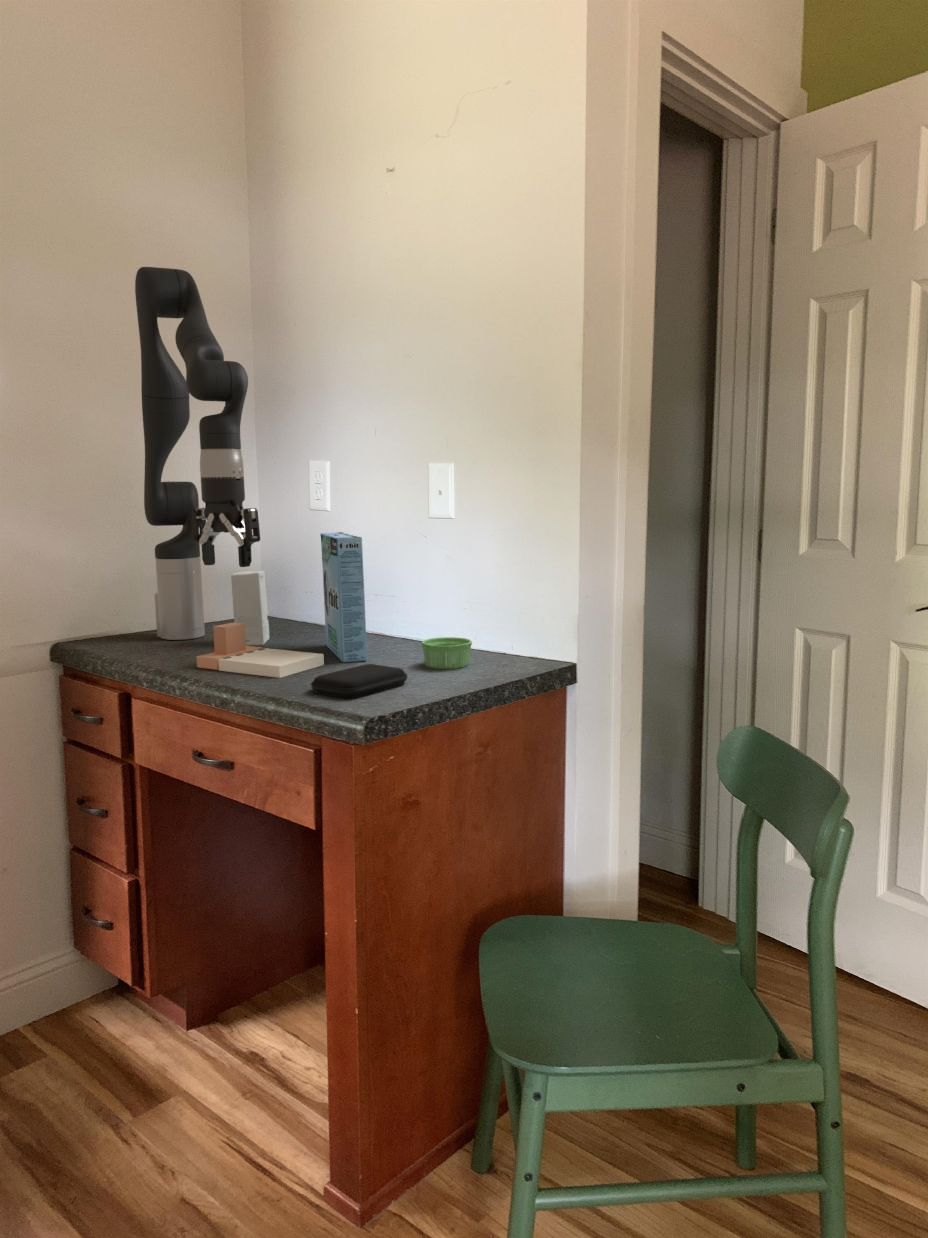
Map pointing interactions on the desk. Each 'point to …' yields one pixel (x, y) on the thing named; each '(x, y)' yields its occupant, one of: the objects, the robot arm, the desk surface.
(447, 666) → the ramekin
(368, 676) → the carrying case or bag
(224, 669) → the plate
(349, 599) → the gum box
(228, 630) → the stub
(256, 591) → the skincare box
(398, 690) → the desk surface
